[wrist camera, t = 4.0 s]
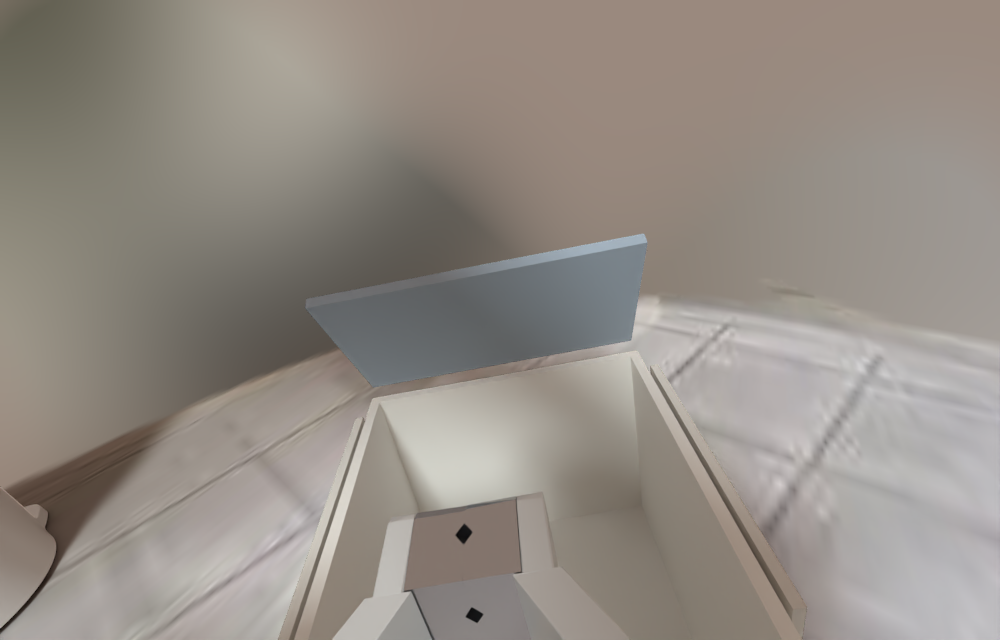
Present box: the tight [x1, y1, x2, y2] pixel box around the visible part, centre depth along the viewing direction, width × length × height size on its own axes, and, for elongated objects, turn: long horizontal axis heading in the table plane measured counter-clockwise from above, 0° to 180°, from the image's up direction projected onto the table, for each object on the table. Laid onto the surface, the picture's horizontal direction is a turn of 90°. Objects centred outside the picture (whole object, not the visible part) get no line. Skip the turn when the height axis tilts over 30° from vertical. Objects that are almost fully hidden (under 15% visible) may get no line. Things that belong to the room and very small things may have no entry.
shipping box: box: [278, 350, 807, 640], centre depth 22 cm, size 16×17×12 cm
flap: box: [305, 234, 647, 387], centre depth 24 cm, size 14×8×1 cm
